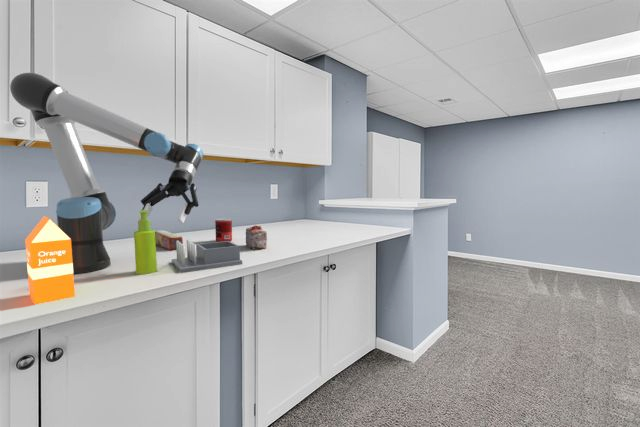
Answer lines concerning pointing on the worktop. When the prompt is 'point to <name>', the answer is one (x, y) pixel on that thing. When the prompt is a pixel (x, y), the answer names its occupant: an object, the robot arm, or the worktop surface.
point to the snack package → (167, 239)
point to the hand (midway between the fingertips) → (161, 220)
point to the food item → (256, 237)
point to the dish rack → (206, 256)
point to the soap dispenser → (145, 246)
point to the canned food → (223, 229)
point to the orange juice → (49, 263)
